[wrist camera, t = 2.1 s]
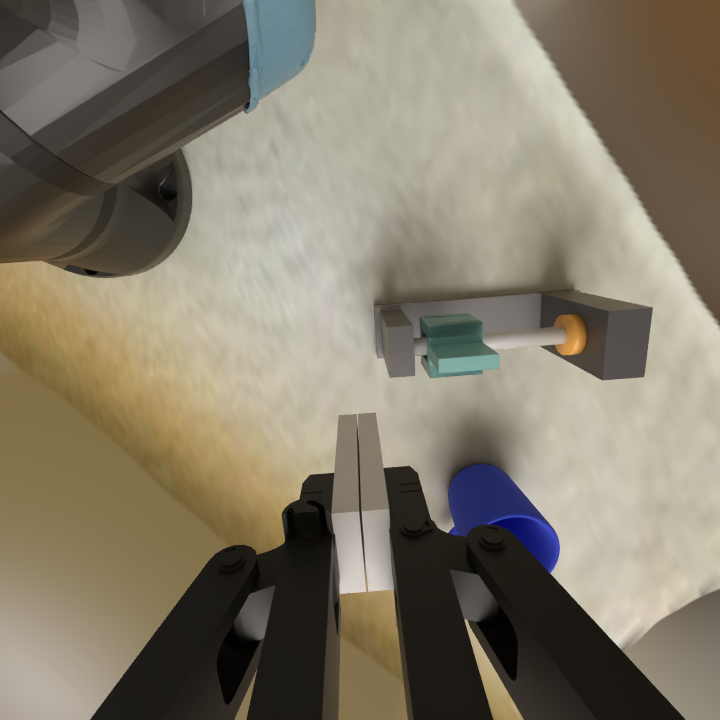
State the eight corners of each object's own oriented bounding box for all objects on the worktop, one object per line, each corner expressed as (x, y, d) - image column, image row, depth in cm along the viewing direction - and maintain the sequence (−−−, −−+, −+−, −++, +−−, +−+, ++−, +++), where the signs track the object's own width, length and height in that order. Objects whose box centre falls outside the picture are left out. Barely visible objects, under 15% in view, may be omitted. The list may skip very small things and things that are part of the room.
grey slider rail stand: (377, 356, 40) (386, 397, 29) (373, 305, 38) (382, 328, 28) (571, 340, 40) (651, 376, 29) (574, 289, 38) (660, 307, 28)
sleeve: (421, 363, 35) (439, 394, 28) (419, 316, 34) (438, 336, 26) (467, 359, 35) (498, 389, 28) (467, 313, 34) (499, 332, 26)
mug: (405, 525, 45) (420, 601, 36) (467, 440, 42) (501, 498, 33) (466, 555, 46) (496, 637, 37) (530, 475, 44) (580, 540, 34)
